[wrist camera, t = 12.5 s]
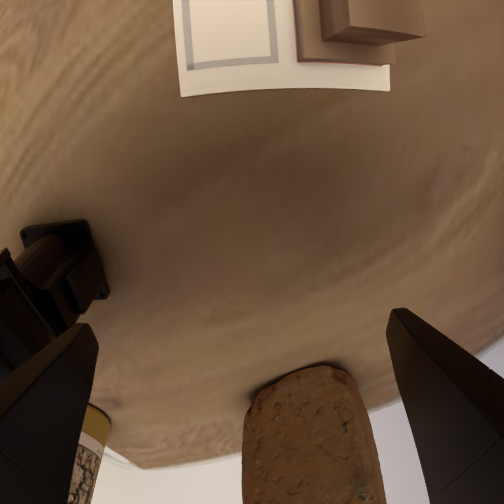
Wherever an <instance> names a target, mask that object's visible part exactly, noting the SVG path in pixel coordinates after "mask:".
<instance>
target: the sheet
mask: <svg viewBox="0 0 504 504" xmlns="http://www.w3.org/2000/svg"><path fill="white" fill-rule="evenodd" d="M173 12H174V26H175V39H176V51H177V62H178V73H179V83H180V93H181V97H187V96H194V95H202V94H211V93H220V92H231V91H243V90H258V89H279V88H343V89H363V90H378V91H390V70H389V65H373V64H362V63H348V62H326V61H298V52H297V38H296V25H295V13H294V2H293V0H173Z"/></svg>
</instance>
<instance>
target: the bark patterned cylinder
mask: <svg viewBox="0 0 504 504" xmlns="http://www.w3.org/2000/svg"><path fill="white" fill-rule="evenodd" d="M109 430H110V423H109V420H108V418H107V417H106V416H105V415H104V414H103V413H102V412H100V411H99V410H98V409H96V408H94V407H92V406H90V405H88V406H87V410H86V414H85V418H84V422H83V426H82V431H81V435H80V439H79V444H78V449H77V453H76V458H75V464H74V469H73V474H72V480H71V486H70V492H69V498H68V504H91V500H92V495H93V491H94V487H95V483H96V479H97V475H98V471H99V467H100V464H101V460H102V456H103V452H104V448H105V444H106V441H107V437H108V434H109Z"/></svg>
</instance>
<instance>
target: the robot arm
mask: <svg viewBox="0 0 504 504" xmlns="http://www.w3.org/2000/svg"><path fill="white" fill-rule="evenodd" d="M79 225H81V226H82V227H83V229H81V228H80V227H79ZM25 233H26V234H27V235H26V234H25ZM20 236H21V239H22V242H23V244H24V247H25V250H24V251H23V252H22V253H21V254H20V255H19V256H18V257H17V258H16V259H15V260H14V261H13V260H12V258H11V256H10V255H11V254H10V252H9V250H8V249H7V247H6V248H4V249H3V250H1V251H0V504H68V498H69V492H70V486H71V480H72V474H73V469H74V464H75V458H76V453H77V449H78V444H79V439H80V435H81V431H82V426H83V422H84V418H85V414H86V410H87V406H88V402H89V398H90V394H91V390H92V385H93V379H94V373H95V367H96V361H97V356H98V351H99V345H98V341H97V339H96V337H95V335H94V333H93V331H92V329H91V327H90V325H89V324H87V323H76V322H77V320H78V318H79V317H80V315H81V314H85V313H86V311H87V309H88V307H89V306H90V304H91V302H92V301H93V300H104V299H107V298H108V296H109V294H110V292H109V289H108V286H107V283H106V280H105V279H106V277H105V274H104V271H103V268H102V265H101V262H100V259H99V256H98V253H97V250H96V249H95V247H94V243H93V240H92V237H91V233H90V230H89V227H88V224H87V222H86V221H84V220H81V219H80V220H73V221H65V222H58V223H51V224H44V225H37V226H31V227H25V228H23V229H22V230H21V231H20ZM102 292H104V294H103V293H102ZM386 338H387V342H388V346H389V351H390V355H391V360H392V364H393V369H394V374H395V378H396V382H397V385H398V388H399V391H400V395H401V398H402V401H403V404H404V407H405V410H406V414H407V417H408V420H409V424H410V427H411V430H412V434H413V437H414V441H415V444H416V448H417V451H418V455H419V459H420V463H421V467H422V471H423V475H424V479H425V483H426V487H427V492H428V496H429V499H430V500H429V501H430V504H504V379H503V378H502V377H501V376H499V375H498V374H497V373H495V372H494V371H493V370H491V369H489V367H487V366H486V365H485V364H483V363H482V362H481V361H479V360H478V359H477V358H475V357H474V356H473V355H471V354H470V353H468V352H467V351H466V350H464V349H463V348H462V347H460V346H459V345H458V344H456V343H455V342H453V341H452V340H451V339H449V338H448V337H446V336H445V335H444V334H442V333H441V332H439V331H438V330H437V329H435V328H434V327H432V326H431V325H430V324H428V323H427V322H425V321H424V320H423V319H421V318H420V317H418V316H417V315H415V314H414V313H413V312H411V311H410V310H408V309H407V308H396V309H393V310H392V311H391V313H390V317H389V321H388V325H387V329H386Z"/></svg>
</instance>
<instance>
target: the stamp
mask: <svg viewBox="0 0 504 504" xmlns="http://www.w3.org/2000/svg"><path fill="white" fill-rule="evenodd" d="M293 2H294V13H295V25H296V38H297V52H298V61H326V62H348V63H362V64H373V65H390V64H396V58H395V42H400V41H406V40H411V39H417V38H423V37H425V29H424V18H423V9H422V0H293Z"/></svg>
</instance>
